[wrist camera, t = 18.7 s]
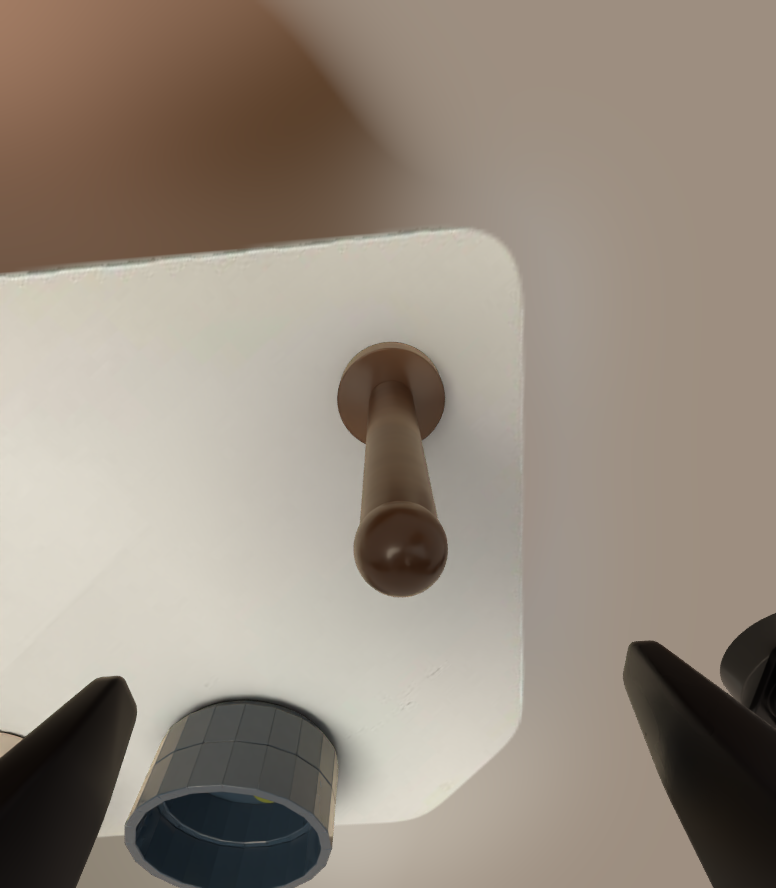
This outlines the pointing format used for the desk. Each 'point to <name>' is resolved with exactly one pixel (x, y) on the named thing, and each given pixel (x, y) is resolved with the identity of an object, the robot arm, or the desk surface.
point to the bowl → (237, 800)
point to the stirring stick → (395, 466)
